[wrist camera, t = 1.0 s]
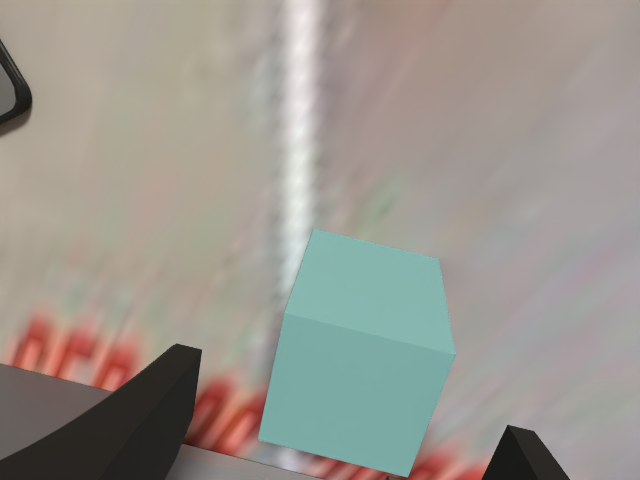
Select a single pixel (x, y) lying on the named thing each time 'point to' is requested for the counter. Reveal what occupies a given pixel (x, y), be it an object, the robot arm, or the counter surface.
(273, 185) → the counter surface
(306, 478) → the tray
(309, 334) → the block
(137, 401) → the robot arm
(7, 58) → the smartphone
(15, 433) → the dark grey cuboid box
